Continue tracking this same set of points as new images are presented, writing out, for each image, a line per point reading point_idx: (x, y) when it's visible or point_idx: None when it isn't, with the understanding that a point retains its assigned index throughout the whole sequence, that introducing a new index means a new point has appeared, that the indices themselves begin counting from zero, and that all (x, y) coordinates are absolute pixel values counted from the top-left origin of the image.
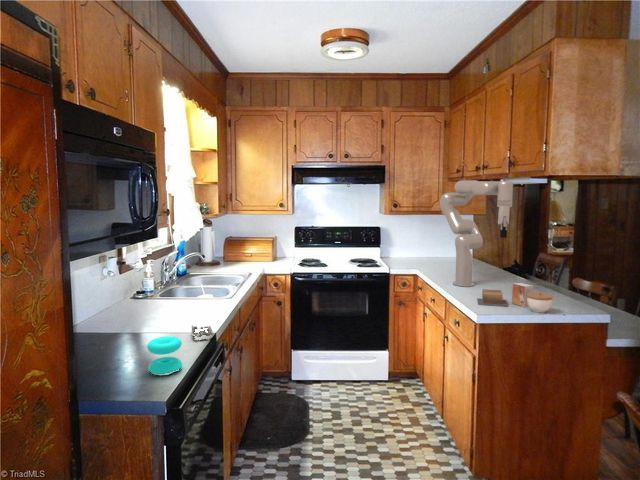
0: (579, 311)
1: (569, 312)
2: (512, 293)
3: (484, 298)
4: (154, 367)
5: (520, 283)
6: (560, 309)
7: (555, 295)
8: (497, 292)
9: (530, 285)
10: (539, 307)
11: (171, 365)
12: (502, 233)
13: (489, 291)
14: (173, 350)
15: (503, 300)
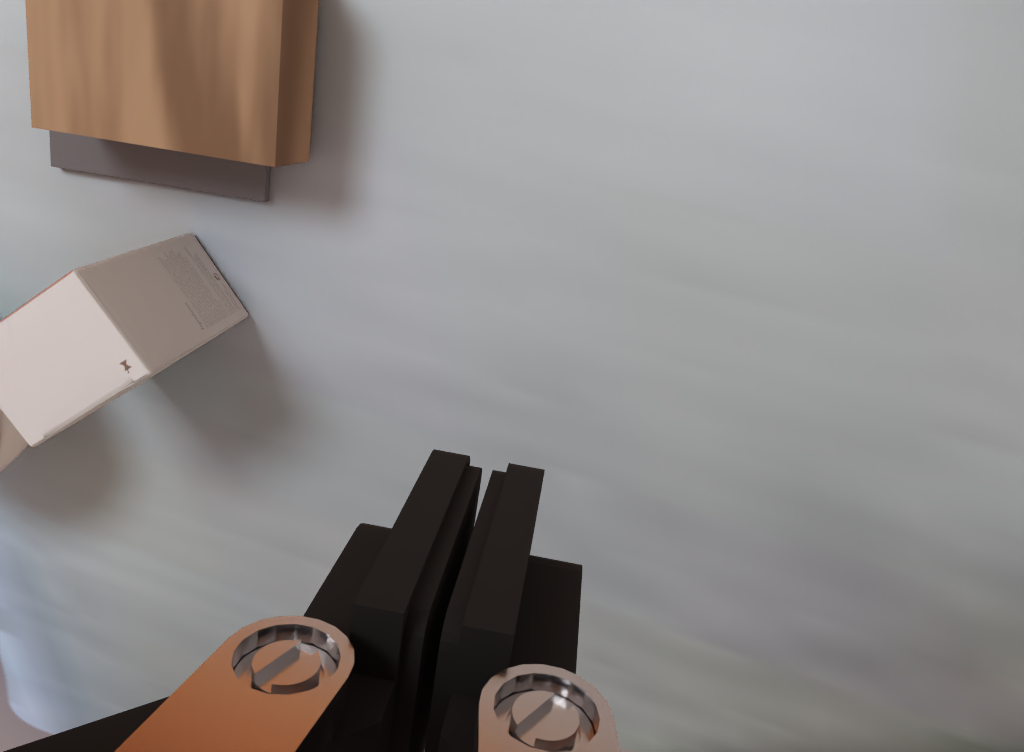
0: (91, 637)
1: (40, 566)
2: (137, 249)
3: None
4: None
5: (102, 354)
6: (109, 542)
7: (601, 691)
8: (144, 100)
9: (26, 422)
10: None
11: None
12: (336, 577)
13: (171, 16)
14: None
15: (247, 174)
